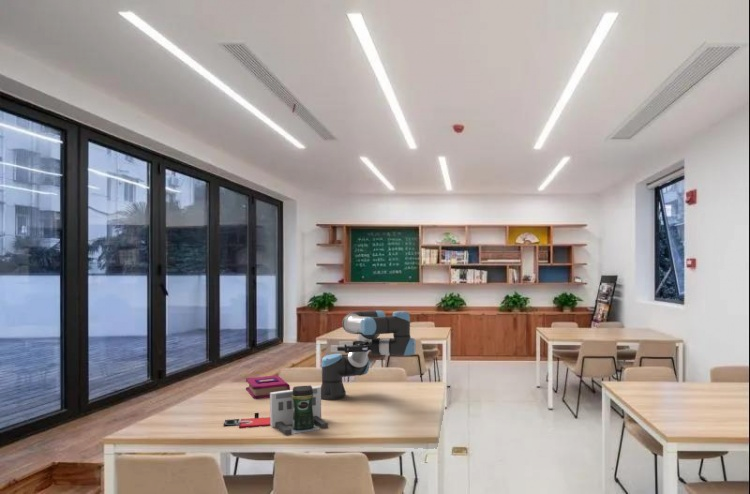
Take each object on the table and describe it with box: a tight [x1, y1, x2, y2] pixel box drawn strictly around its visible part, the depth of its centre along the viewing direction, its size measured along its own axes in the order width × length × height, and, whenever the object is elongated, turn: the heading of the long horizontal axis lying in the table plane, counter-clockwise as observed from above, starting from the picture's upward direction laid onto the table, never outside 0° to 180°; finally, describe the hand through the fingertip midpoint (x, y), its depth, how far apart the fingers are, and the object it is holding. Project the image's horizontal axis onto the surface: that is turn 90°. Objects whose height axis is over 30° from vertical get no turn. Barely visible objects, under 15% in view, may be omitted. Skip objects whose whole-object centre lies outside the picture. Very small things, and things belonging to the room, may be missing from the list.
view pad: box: [288, 424, 320, 435], centre depth 222 cm, size 11×12×1 cm
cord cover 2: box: [313, 416, 329, 430], centre depth 228 cm, size 14×3×2 cm, turn 28°
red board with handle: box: [223, 412, 271, 429], centre depth 233 cm, size 30×3×15 cm
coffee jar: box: [292, 384, 315, 430], centre depth 223 cm, size 10×8×19 cm
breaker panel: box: [269, 385, 322, 428], centre depth 232 cm, size 4×24×15 cm, turn 118°
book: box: [245, 375, 291, 400], centre depth 296 cm, size 21×28×8 cm
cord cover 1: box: [274, 421, 292, 436], centre depth 220 cm, size 14×3×2 cm, turn 28°
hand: (335, 346), depth 226 cm, fingers open, 13 cm apart
